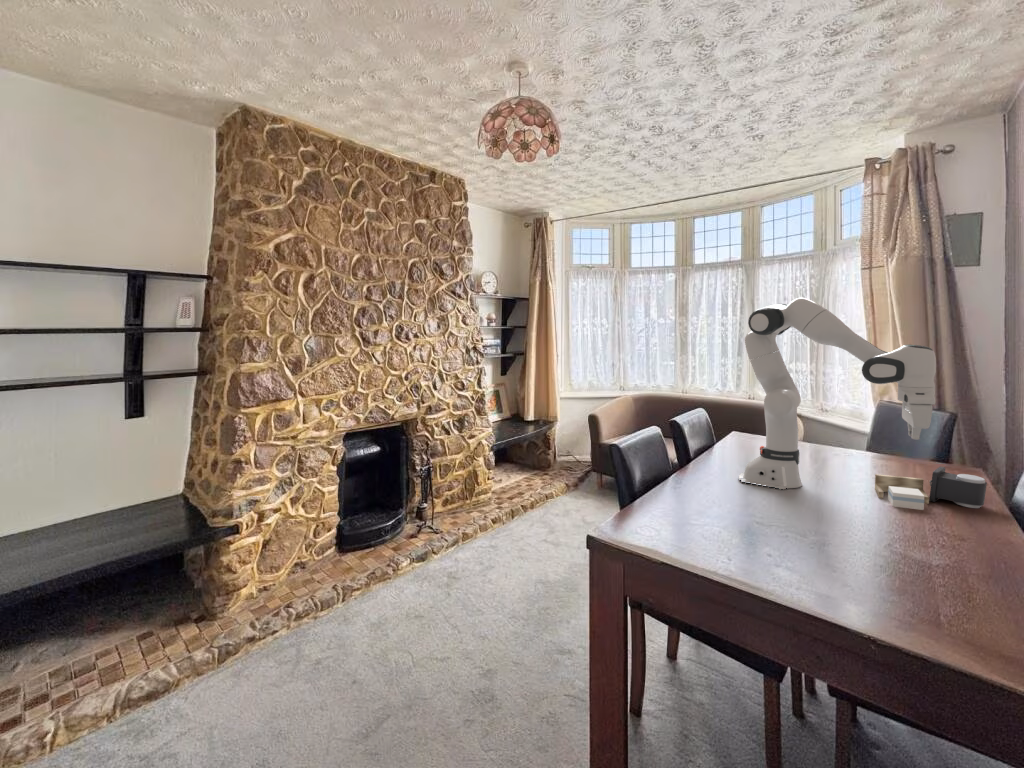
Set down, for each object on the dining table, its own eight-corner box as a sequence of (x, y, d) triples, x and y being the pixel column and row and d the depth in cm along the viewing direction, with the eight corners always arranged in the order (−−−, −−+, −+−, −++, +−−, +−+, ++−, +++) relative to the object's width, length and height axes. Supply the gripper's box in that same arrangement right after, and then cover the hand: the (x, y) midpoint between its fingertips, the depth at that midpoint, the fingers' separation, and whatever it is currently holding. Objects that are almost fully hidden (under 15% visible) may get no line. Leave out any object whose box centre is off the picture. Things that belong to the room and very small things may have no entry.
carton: (892, 506, 153) (892, 492, 153) (887, 499, 160) (888, 485, 160) (923, 510, 149) (924, 496, 149) (917, 502, 156) (918, 488, 155)
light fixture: (979, 513, 146) (984, 481, 144) (925, 501, 156) (929, 471, 155) (986, 505, 152) (990, 475, 151) (934, 494, 163) (937, 465, 161)
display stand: (878, 498, 161) (879, 481, 160) (874, 489, 170) (875, 474, 169) (928, 504, 154) (929, 487, 153) (921, 494, 163) (922, 478, 162)
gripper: (897, 391, 154) (895, 431, 155) (909, 398, 137) (907, 443, 138) (921, 392, 150) (919, 432, 152) (937, 399, 133) (934, 445, 135)
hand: (913, 437), depth 145 cm, fingers open, 3 cm apart
